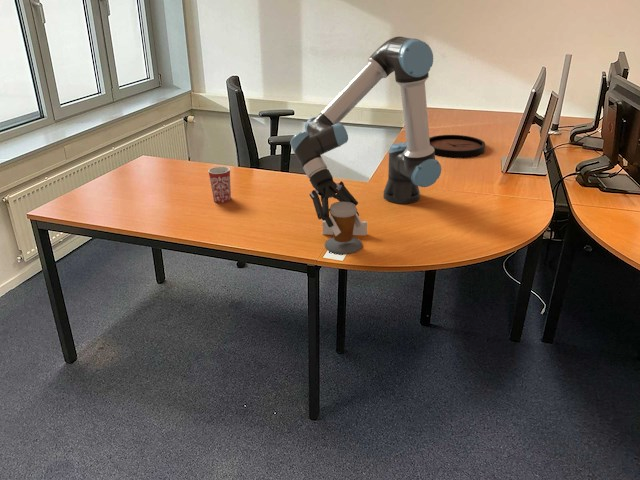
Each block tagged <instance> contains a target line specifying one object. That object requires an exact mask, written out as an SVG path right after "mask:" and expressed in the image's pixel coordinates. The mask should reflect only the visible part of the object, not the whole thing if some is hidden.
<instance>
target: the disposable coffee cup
mask: <svg viewBox="0 0 640 480" xmlns="http://www.w3.org/2000/svg"><path fill="white" fill-rule="evenodd" d="M356 212H358V208H357V205H355V204H353V203H350V202H340V201H337V202H333V203H332V204H330V207H329V215H330V216H332V217H333V219H334V220H335V222H336V224H337V226H338V228H339V230H340V231H341V233H340V234H339V235H337V236H335V234H334V233H333V235H332V236H333V237H334V240H335V241H337V242H349V241H351V240H352V237H353V236H354V235H353V229H354V222H355V215H356Z"/></svg>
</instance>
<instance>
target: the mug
mask: <svg viewBox="0 0 640 480" xmlns="http://www.w3.org/2000/svg"><path fill="white" fill-rule="evenodd" d="M207 172H208V176H209V181H210V186H211V187H210V188H211V192H212V198H213V202H214V201H215V202H214V203H217V202H218V203H217V204H224V203H225V204H226V203H228V202H230V201H231V200H232V195H231V192H232V191H231V168H230V167H228V166H222V165H221V166H213V167H211V168H209V169H208V170H207Z"/></svg>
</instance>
